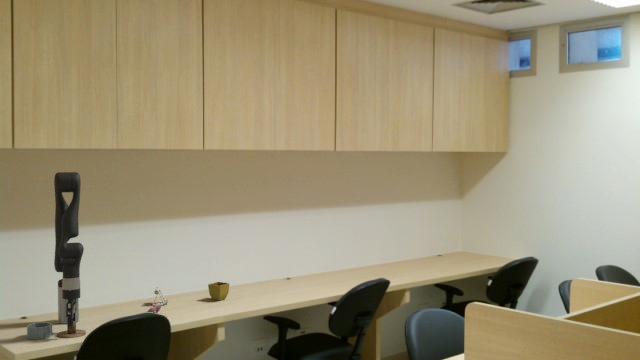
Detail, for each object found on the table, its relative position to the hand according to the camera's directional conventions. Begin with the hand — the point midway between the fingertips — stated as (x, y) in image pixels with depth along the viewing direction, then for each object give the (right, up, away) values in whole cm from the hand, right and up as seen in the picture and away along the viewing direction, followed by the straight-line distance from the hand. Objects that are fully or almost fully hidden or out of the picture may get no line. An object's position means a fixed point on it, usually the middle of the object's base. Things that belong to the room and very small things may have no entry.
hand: (71, 323), depth 292 cm
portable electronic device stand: (+24, -3, +63) cm, 67 cm away
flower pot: (+54, -3, +74) cm, 92 cm away
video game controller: (+27, -4, +36) cm, 45 cm away
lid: (0, -5, +1) cm, 5 cm away
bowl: (-13, -5, -3) cm, 14 cm away
